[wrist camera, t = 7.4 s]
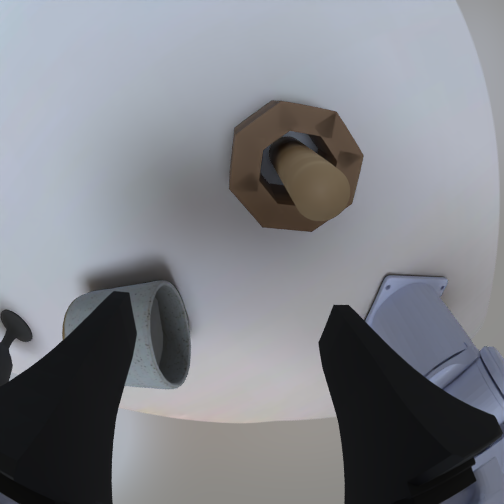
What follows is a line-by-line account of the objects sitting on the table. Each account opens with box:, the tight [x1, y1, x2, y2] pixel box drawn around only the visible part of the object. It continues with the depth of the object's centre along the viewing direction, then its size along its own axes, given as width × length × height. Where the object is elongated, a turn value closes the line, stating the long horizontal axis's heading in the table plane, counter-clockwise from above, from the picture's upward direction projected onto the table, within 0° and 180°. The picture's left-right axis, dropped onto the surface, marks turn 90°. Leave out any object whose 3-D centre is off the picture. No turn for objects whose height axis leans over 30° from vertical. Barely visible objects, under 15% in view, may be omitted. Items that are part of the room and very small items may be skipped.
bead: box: [229, 101, 363, 232], centre depth 15 cm, size 7×7×4 cm
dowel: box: [269, 137, 350, 221], centre depth 13 cm, size 2×2×8 cm
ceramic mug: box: [62, 281, 191, 389], centre depth 19 cm, size 11×8×8 cm
